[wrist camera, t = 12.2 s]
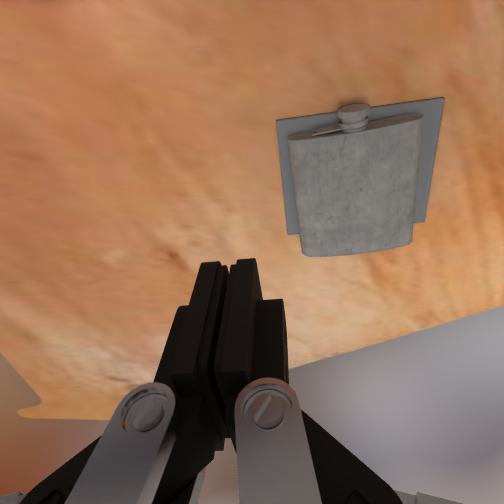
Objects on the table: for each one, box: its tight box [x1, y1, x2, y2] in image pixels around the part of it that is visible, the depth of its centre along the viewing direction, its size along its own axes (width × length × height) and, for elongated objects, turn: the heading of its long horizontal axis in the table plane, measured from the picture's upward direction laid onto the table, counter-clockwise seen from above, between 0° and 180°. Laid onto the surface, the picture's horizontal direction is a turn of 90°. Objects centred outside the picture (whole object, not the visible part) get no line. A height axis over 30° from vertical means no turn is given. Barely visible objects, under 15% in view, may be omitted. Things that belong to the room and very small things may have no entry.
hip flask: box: [287, 103, 423, 257], centre depth 45 cm, size 16×4×20 cm
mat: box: [276, 97, 445, 235], centre depth 47 cm, size 20×17×1 cm
